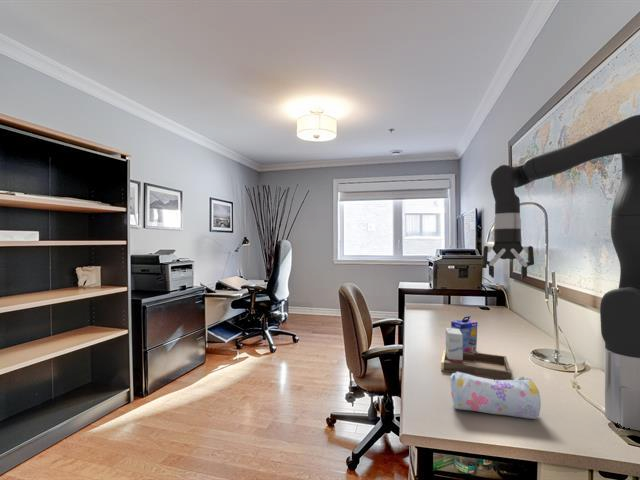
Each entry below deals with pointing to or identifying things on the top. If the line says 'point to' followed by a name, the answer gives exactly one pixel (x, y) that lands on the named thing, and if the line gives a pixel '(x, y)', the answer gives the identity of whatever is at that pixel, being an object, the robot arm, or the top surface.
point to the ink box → (454, 345)
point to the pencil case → (496, 395)
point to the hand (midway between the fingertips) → (507, 278)
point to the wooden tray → (479, 365)
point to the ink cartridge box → (467, 333)
